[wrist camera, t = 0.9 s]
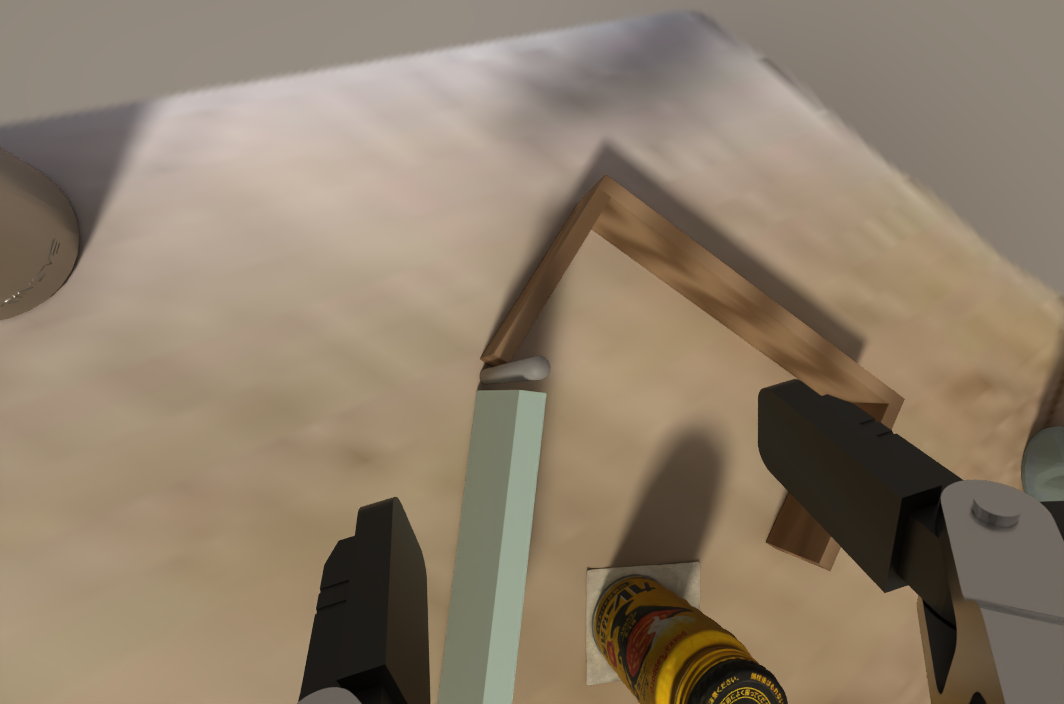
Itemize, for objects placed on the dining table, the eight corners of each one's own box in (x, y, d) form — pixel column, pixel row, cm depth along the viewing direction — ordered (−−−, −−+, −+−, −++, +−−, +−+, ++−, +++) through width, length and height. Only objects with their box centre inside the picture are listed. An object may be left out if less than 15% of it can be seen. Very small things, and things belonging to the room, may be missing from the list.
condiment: (585, 569, 35) (680, 657, 23) (698, 560, 37) (836, 637, 26) (585, 683, 34) (681, 832, 23) (699, 668, 37) (841, 796, 25)
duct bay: (479, 359, 34) (493, 353, 29) (578, 203, 37) (605, 174, 32) (775, 548, 39) (830, 571, 34) (844, 398, 41) (904, 399, 36)
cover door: (479, 367, 34) (526, 353, 22) (497, 369, 34) (553, 357, 22) (432, 736, 32) (456, 953, 19) (452, 735, 32) (488, 948, 20)
